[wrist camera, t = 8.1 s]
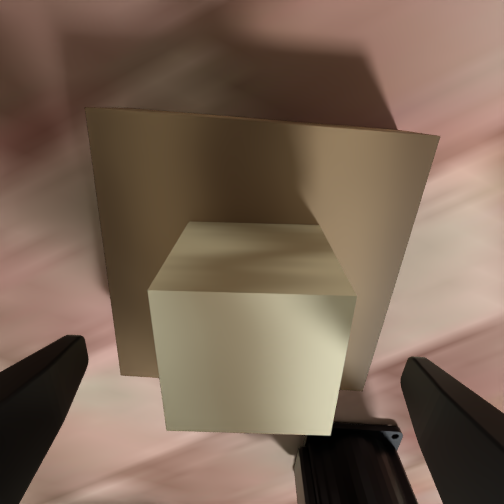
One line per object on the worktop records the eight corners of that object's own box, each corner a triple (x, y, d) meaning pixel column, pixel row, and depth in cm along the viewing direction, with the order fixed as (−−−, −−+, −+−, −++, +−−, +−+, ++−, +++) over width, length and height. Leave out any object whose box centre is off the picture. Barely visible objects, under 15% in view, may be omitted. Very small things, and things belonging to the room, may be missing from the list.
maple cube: (319, 225, 12) (357, 296, 7) (306, 330, 14) (330, 435, 10) (189, 221, 12) (147, 290, 7) (195, 326, 14) (166, 430, 10)
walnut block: (393, 129, 14) (440, 136, 11) (342, 337, 19) (362, 391, 16) (129, 107, 14) (84, 107, 10) (146, 324, 19) (120, 375, 15)
